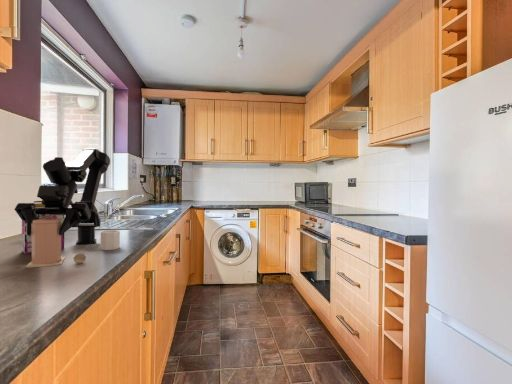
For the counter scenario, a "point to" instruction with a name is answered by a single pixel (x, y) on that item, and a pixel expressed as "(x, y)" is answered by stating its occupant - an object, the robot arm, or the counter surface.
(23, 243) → the candy bar box
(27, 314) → the counter surface
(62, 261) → the coaster
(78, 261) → the wooden ball
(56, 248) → the brown rounded shape
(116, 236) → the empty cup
